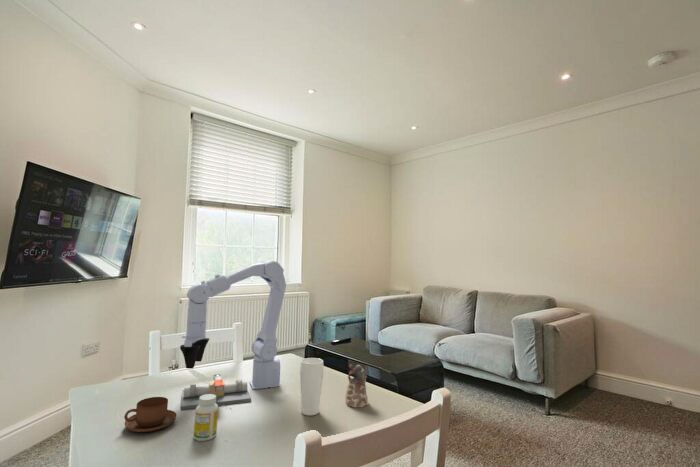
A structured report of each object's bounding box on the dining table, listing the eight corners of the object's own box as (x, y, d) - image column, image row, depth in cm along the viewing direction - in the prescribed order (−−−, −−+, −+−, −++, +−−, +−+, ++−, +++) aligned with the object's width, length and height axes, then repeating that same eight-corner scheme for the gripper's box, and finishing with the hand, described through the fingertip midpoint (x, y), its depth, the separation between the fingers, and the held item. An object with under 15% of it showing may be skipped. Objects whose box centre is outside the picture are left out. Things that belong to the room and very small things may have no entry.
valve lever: (212, 379, 116) (213, 373, 116) (220, 378, 117) (221, 373, 117) (215, 391, 105) (215, 386, 105) (223, 390, 106) (223, 385, 106)
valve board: (245, 386, 125) (245, 370, 126) (251, 401, 113) (252, 383, 113) (182, 393, 117) (183, 376, 118) (180, 409, 105) (182, 390, 105)
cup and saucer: (139, 441, 86) (141, 415, 87) (114, 428, 93) (116, 403, 93) (185, 423, 96) (187, 400, 97) (160, 412, 103) (161, 390, 103)
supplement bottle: (200, 444, 86) (202, 402, 87) (189, 436, 89) (192, 396, 90) (220, 436, 90) (223, 396, 91) (209, 429, 93) (212, 391, 94)
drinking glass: (303, 419, 101) (305, 364, 102) (295, 410, 107) (297, 358, 108) (325, 415, 104) (327, 362, 106) (316, 406, 110) (318, 356, 112)
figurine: (365, 409, 110) (366, 368, 111) (343, 406, 111) (344, 366, 112) (369, 400, 117) (370, 362, 118) (347, 398, 118) (349, 360, 119)
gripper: (191, 318, 124) (189, 358, 123) (175, 325, 109) (172, 371, 108) (212, 318, 124) (210, 358, 123) (199, 325, 110) (196, 371, 109)
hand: (194, 364), depth 116 cm, fingers open, 7 cm apart
